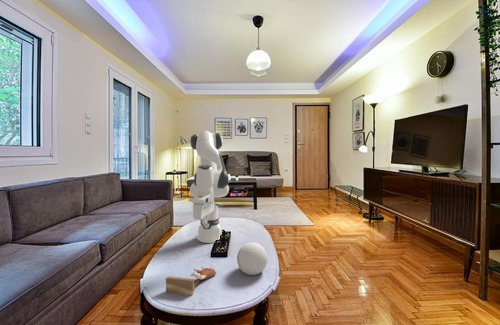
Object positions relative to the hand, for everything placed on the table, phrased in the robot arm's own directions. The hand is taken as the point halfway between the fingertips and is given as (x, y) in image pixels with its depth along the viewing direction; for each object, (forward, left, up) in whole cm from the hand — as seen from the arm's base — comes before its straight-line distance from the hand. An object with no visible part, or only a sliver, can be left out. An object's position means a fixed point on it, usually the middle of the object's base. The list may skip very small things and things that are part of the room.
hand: (204, 223), depth 122 cm
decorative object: (+1, +25, -23) cm, 34 cm away
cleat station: (+18, -2, -23) cm, 30 cm away
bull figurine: (+8, -1, -21) cm, 22 cm away
